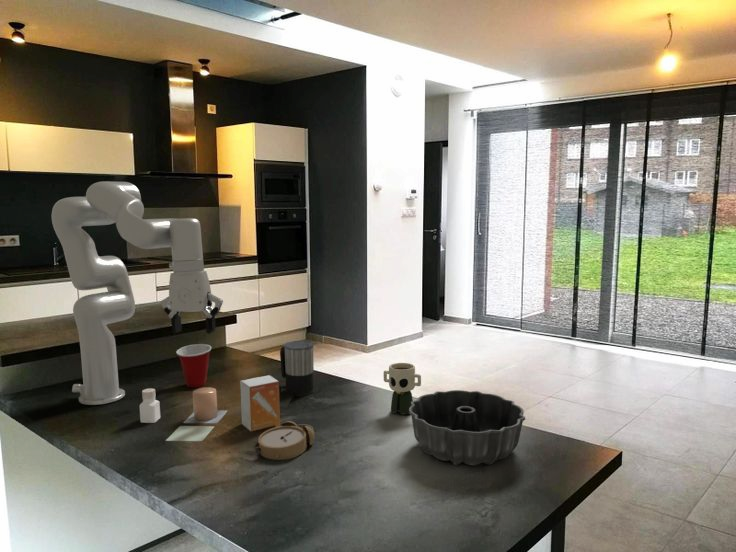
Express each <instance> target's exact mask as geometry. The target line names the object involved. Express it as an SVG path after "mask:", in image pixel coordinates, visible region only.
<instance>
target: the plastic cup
mask: <svg viewBox="0 0 736 552" xmlns="http://www.w3.org/2000/svg"><path fill="white" fill-rule="evenodd" d="M211 350H212V346H211V345H210V344H206V343H205V344H204V343H199V344H195V343H194V344H189V345H185V346H182V347H180V348H179V349H177V350H176V351H175V352H176V355H178V358H179V361H180V363H181V367H182V372H183V375H184V379H185V384H186V386H187V387H188V388H202V387H203V386H206V383H207V376H208V371H209V360H210V354H211Z"/></svg>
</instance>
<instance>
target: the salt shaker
mask: <svg viewBox="0 0 736 552" xmlns="http://www.w3.org/2000/svg"><path fill="white" fill-rule="evenodd" d="M141 394H142V395H141V396H142V397H141V398H142V401H141V403H140V404H139V419H140V420H139V421H140V423H146V424H152V423H156V422H158V421H159V419H161V407H160V405H161V404H160V401H159V400H157V399H156V389H155V388H153V387H152V388H145V389H142V391H141Z"/></svg>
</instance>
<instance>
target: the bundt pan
mask: <svg viewBox="0 0 736 552" xmlns="http://www.w3.org/2000/svg"><path fill="white" fill-rule="evenodd" d="M524 412H525V411H524V409H523V407H521V406H519V404H518V405H517V404H516V403H515V401H514V400H510V399H506V398H504V397H502V396H500V395H498V394H493V393H487V392H486V393H485V392H484V393H483V392H481V391H479V390H474V391H473V390H472V391H471V390H470V391H469V390H461V389H460V390H459V389H455V390H453V389H452V390H447V391H440V390H439V391H437V390H436V391H435V392H433V393H428V394H427V393H426V394H424V395H421V396H419V397H418V398H417V399H416V400H413V401H412V402H411V407H410V408H409V414H410V416H411V422H412V427H413V428H412V429H413V435H414V438H415V440H416V441H417V443H418V444H419V446H420V448H421V450H422V451H423V452H424V453H426V454H427V455H429V456H433V457H435V459H438V460H439V461H444V462H445V461H447V462H448V461H450V462H452V464H454V465H459V464H462V463H463V464H466V465H467V466H468V465H469V466H478V465H480V464H481V463H483V464H485V465H492V464H494V462H495V461H500V460H503V459H505V458H507V457H508V456H509V455H510V453H511V452H513V451H514V450H515V449H516V448H517V446H518V444H519V441H520V436H521V431H522V427H523V422H524V421H526V416H524Z"/></svg>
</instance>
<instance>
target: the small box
mask: <svg viewBox="0 0 736 552" xmlns="http://www.w3.org/2000/svg"><path fill="white" fill-rule="evenodd" d="M239 384H240V405H241V407H240V409H241V411H240V412H241V425H242V426H244V427H245V428H246V429H247V430H249V431H250V432H253V431H254V432H255V431H257V430H258V431H260V430H262V429H266V428H270V427H274V428H275V427H279V426H281V414H280V409H281V407H280V392H279V385H280V383H279V380H277V379H276V378H275V377H273V376H272V375H264V376H263V375H262V376H257V377H252V378H249V379H243V380H240V381H239Z"/></svg>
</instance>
